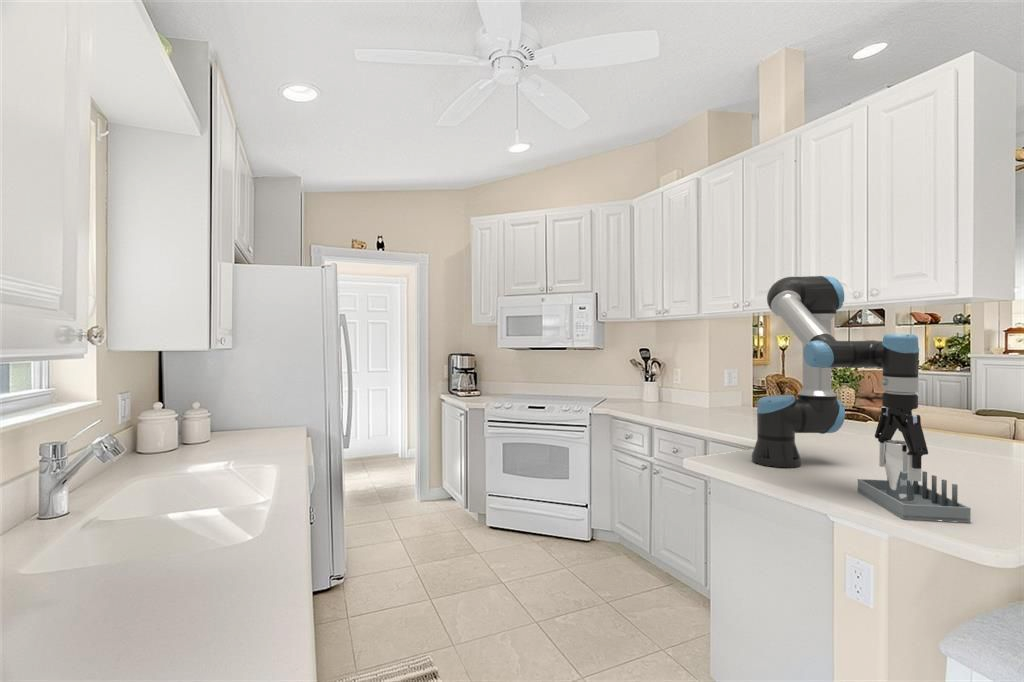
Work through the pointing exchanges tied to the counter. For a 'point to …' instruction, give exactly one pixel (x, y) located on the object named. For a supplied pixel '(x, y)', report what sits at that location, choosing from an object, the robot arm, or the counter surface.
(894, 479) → the beer glass
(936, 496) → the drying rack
